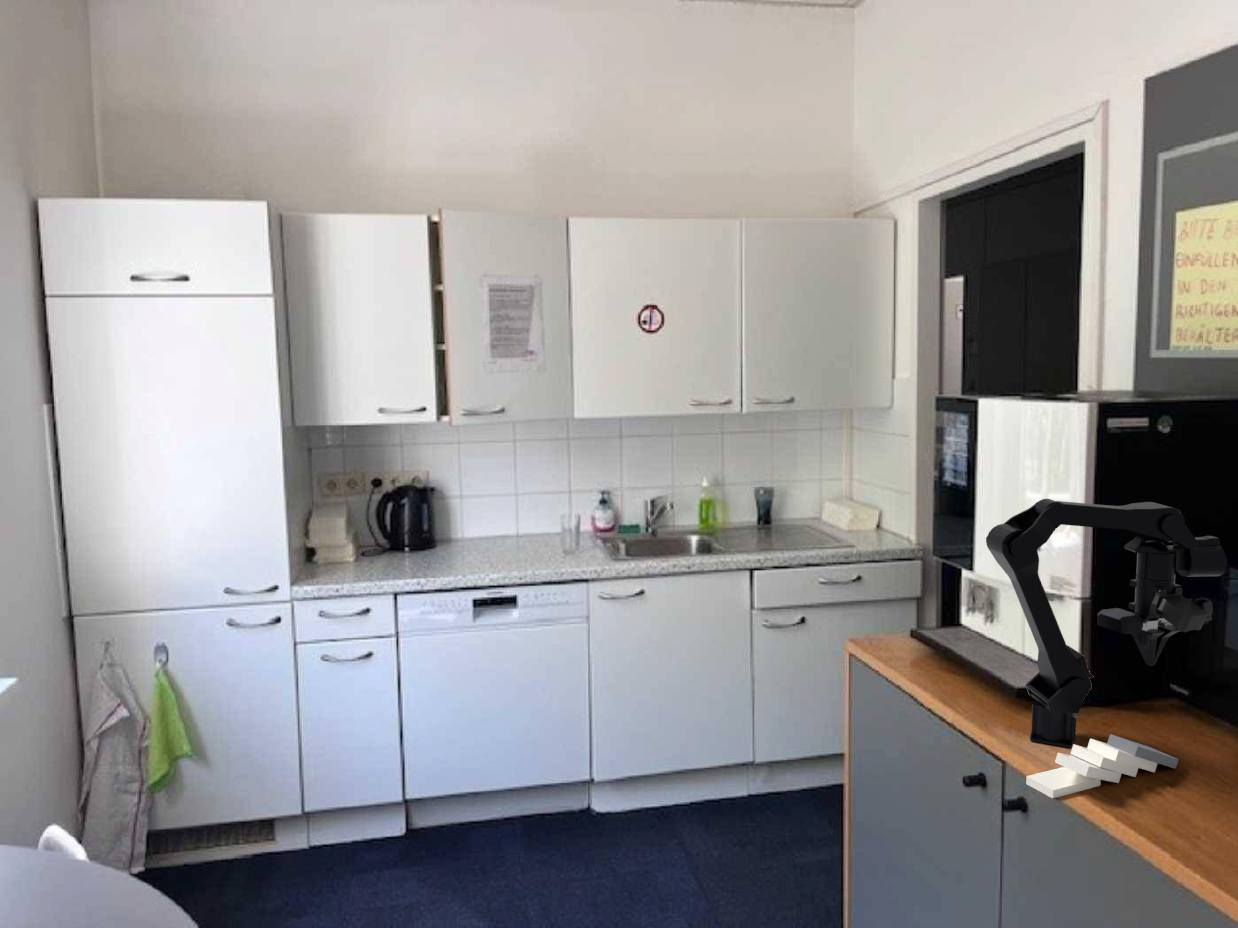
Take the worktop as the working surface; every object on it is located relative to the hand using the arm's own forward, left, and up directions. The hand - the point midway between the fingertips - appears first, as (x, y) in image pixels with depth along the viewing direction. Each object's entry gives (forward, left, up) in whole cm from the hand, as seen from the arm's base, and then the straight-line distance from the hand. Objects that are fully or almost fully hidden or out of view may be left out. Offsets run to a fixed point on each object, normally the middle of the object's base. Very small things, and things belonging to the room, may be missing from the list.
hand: (1150, 664), depth 152 cm
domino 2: (-6, -20, -12) cm, 24 cm away
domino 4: (-1, -13, -12) cm, 18 cm away
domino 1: (-9, -22, -13) cm, 27 cm away
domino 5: (+2, -10, -12) cm, 16 cm away
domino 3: (-4, -16, -12) cm, 21 cm away
